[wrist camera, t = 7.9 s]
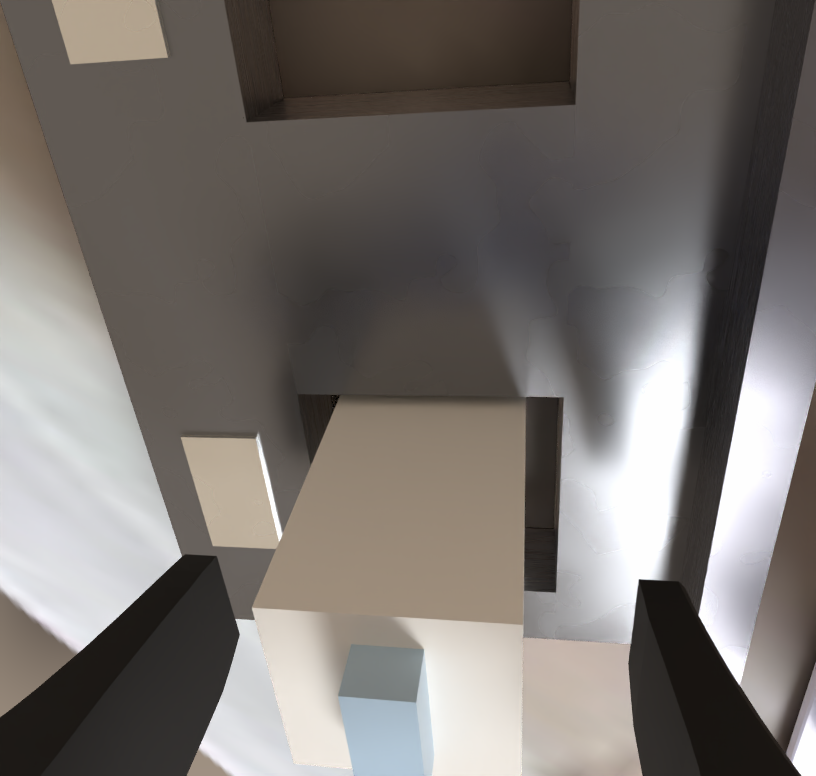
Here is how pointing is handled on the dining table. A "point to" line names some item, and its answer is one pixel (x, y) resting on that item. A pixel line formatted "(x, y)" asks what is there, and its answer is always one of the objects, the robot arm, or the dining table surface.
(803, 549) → the dining table surface
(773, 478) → the port panel
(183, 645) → the robot arm
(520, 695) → the plug
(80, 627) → the dining table surface
